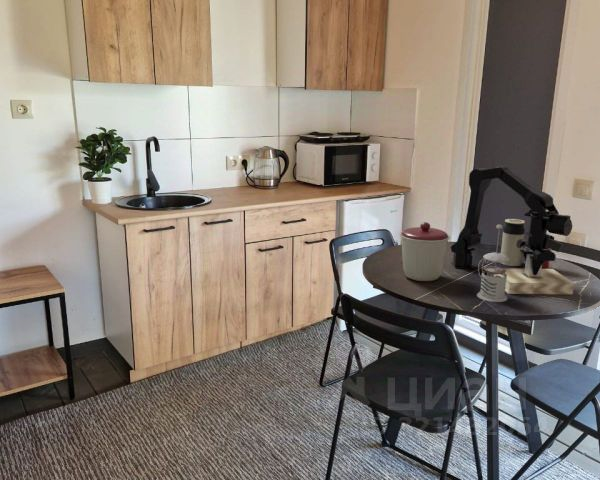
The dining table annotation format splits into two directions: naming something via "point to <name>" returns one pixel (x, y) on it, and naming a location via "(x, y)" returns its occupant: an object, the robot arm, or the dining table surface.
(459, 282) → the dining table surface
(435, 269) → the canister
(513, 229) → the travel mug
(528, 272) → the steel peg
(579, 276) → the dining table surface
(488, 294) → the french press
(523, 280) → the hole block
